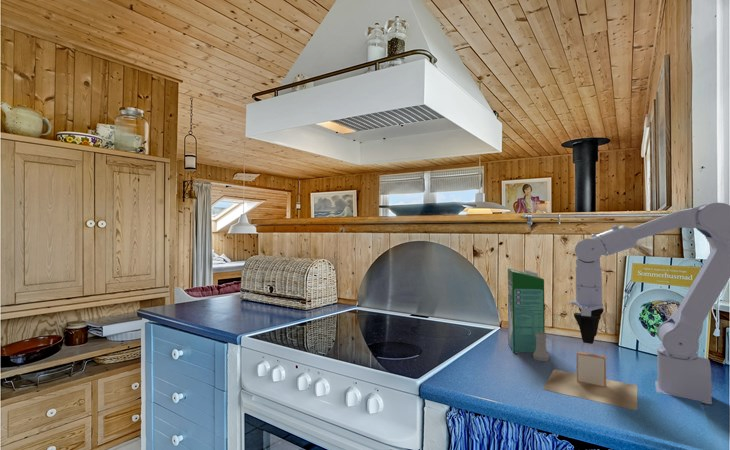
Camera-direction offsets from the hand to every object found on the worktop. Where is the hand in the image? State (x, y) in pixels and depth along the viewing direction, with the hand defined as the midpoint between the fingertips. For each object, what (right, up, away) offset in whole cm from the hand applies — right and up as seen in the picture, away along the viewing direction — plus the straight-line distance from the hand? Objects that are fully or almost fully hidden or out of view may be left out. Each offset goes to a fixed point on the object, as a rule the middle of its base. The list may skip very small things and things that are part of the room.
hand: (589, 339), depth 96 cm
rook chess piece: (-7, -10, +13) cm, 17 cm away
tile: (-3, -9, -5) cm, 11 cm away
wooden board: (-4, -10, -7) cm, 13 cm away
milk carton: (-7, -10, +23) cm, 26 cm away
